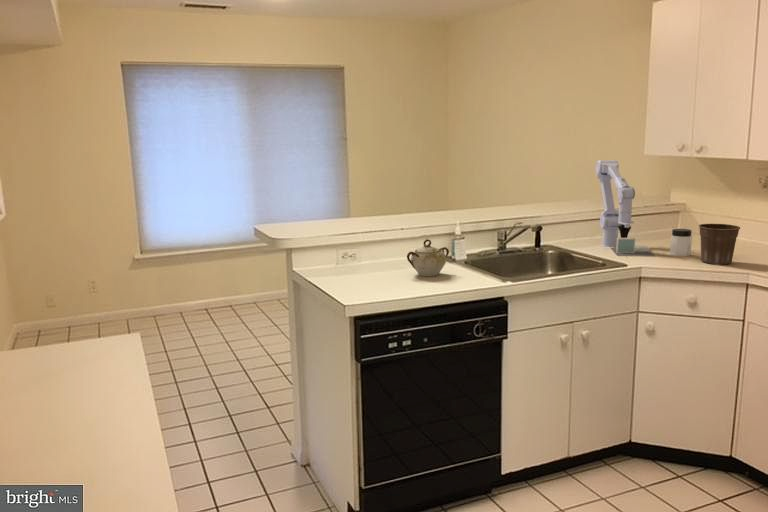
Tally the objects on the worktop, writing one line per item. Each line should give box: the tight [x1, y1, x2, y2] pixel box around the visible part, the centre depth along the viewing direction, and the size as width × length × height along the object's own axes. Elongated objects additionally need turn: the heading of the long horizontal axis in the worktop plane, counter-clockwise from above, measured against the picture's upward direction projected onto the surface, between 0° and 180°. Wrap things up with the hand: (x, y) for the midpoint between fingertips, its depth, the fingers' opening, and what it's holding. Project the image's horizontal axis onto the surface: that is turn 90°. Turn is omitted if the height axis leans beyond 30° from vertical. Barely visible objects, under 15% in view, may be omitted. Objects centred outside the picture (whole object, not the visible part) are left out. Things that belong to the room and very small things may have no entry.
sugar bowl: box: [406, 238, 450, 277], centre depth 267 cm, size 20×15×15 cm
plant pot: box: [698, 223, 741, 265], centre depth 280 cm, size 16×16×16 cm
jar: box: [669, 228, 693, 257], centre depth 298 cm, size 9×8×12 cm
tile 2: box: [635, 245, 651, 252], centre depth 311 cm, size 7×8×2 cm
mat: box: [610, 247, 657, 258], centre depth 306 cm, size 22×17×1 cm
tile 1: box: [616, 237, 636, 253], centre depth 304 cm, size 2×8×7 cm, turn 79°
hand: (623, 240), depth 310 cm, fingers closed
